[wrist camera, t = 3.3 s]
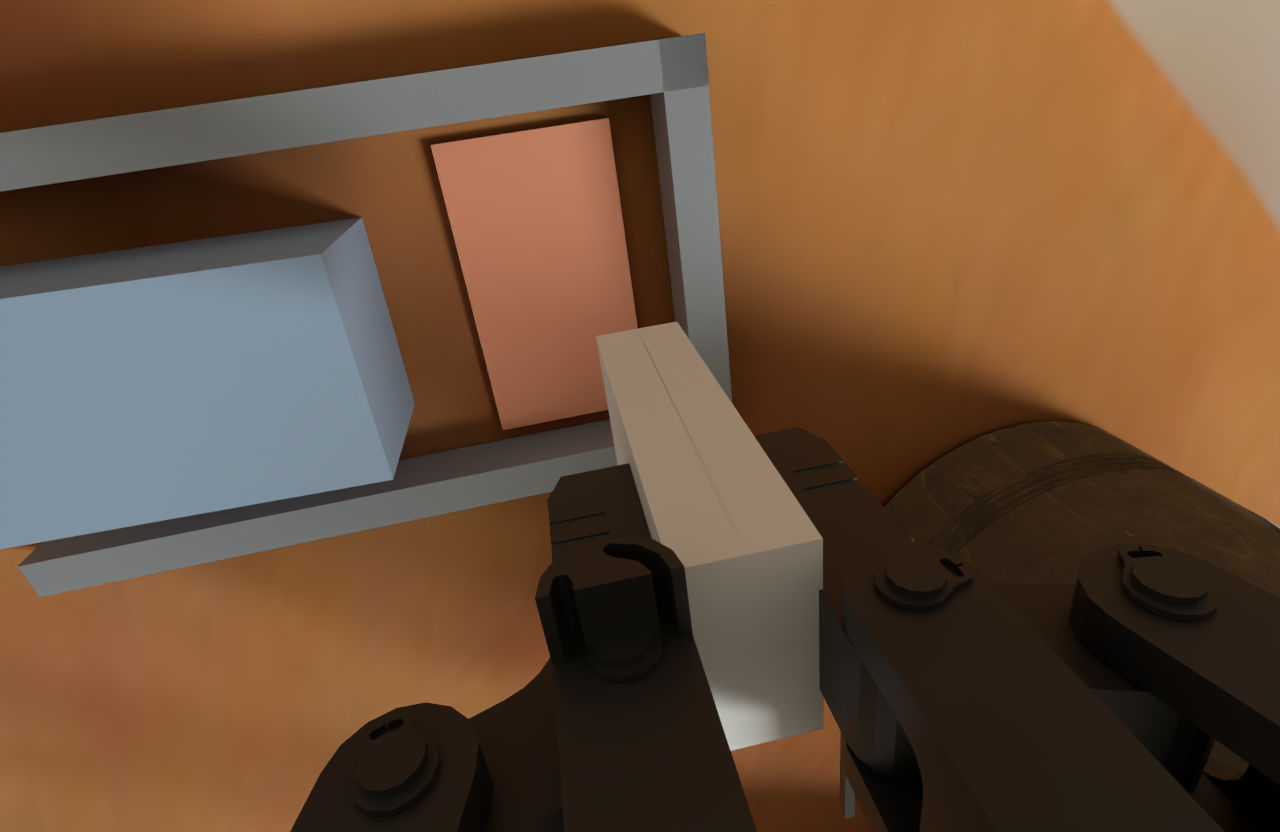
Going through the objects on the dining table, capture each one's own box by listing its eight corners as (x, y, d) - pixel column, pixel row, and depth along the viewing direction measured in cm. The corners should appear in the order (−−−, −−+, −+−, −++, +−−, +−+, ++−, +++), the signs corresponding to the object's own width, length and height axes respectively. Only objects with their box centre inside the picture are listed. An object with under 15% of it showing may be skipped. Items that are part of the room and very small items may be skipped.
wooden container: (1121, 641, 34) (1941, 1380, 15) (844, 721, 33) (1330, 1637, 13) (1176, 378, 27) (2851, 1106, 8) (829, 467, 26) (1770, 1578, 7)
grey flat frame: (76, 556, 22) (39, 597, 20) (-179, 161, 17) (-261, 169, 15) (719, 427, 24) (736, 453, 23) (686, 37, 19) (704, 33, 17)
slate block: (92, 455, 21) (-18, 552, 17) (-12, 266, 18) (-176, 323, 14) (415, 401, 22) (392, 479, 18) (363, 216, 20) (320, 253, 15)
